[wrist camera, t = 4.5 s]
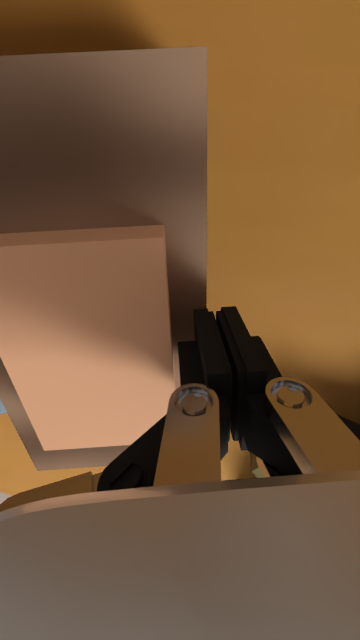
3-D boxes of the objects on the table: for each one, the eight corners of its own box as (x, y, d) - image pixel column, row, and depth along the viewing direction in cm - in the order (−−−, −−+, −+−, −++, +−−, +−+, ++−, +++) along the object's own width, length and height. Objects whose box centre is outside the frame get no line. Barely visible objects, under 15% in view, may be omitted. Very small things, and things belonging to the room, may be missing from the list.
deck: (-62, 97, 11) (-173, 63, 7) (193, 85, 11) (207, 46, 7) (60, 416, 19) (37, 470, 16) (198, 407, 20) (205, 458, 16)
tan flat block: (-10, 234, 9) (-50, 249, 8) (163, 224, 9) (163, 237, 8) (59, 414, 14) (44, 450, 12) (176, 407, 14) (178, 441, 12)
